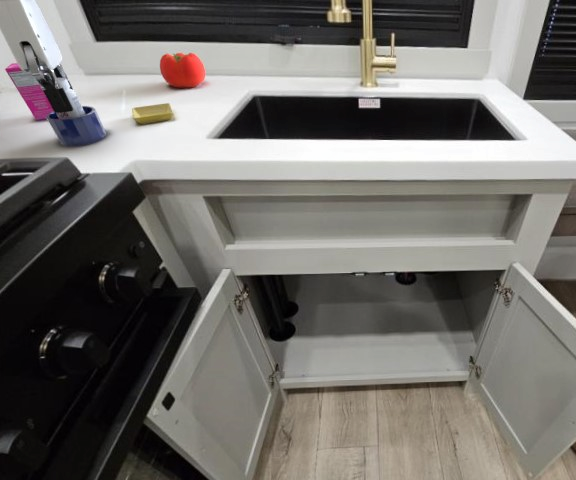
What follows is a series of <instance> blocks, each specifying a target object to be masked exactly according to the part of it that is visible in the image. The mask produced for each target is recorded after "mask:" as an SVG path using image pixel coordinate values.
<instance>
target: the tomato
mask: <svg viewBox="0 0 576 480" xmlns="http://www.w3.org/2000/svg"><path fill="white" fill-rule="evenodd" d="M159 70H160V73H161V76H162V78H163V79H164V81H165V82H166V83H167V84H168V85H170V86H172V87H174V88H177V89H184V88H185V89H188V88H191V89H192V88H195V87H198V86H199V85H200V84H202V83H203V82H204V81H205V78H206V68H205V66H204V63H203V61H202V60H201V59H200V57H199V56H198V55H197V54H196V53H193V52H189V53H187V54H184V53H183V52H177V53H173V55H171V54H169V53H165V54H163V55H162V56H161V58H160V59H159Z"/></svg>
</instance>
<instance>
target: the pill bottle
mask: <svg viewBox="0 0 576 480" xmlns="http://www.w3.org/2000/svg"><path fill="white" fill-rule="evenodd" d="M57 80H58V82H59V85H60V88H63V89H64V91H65V93H66V95H67V97H68V99H69V101H70V103H71V105H72V107H73V111H70V112H60V113H56V114H57V116H58V118H59V119H70V118H75V117H80V116H83V115H86V114H85V112H84V110H83V108H82V106H83V105H82V104H81V101H80V99H79V97H78V95H77V93H76V91H75V90H74V89H73V90H72V89H70V85H69V83H68V81H69V80H67V79H66V78H57Z"/></svg>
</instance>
